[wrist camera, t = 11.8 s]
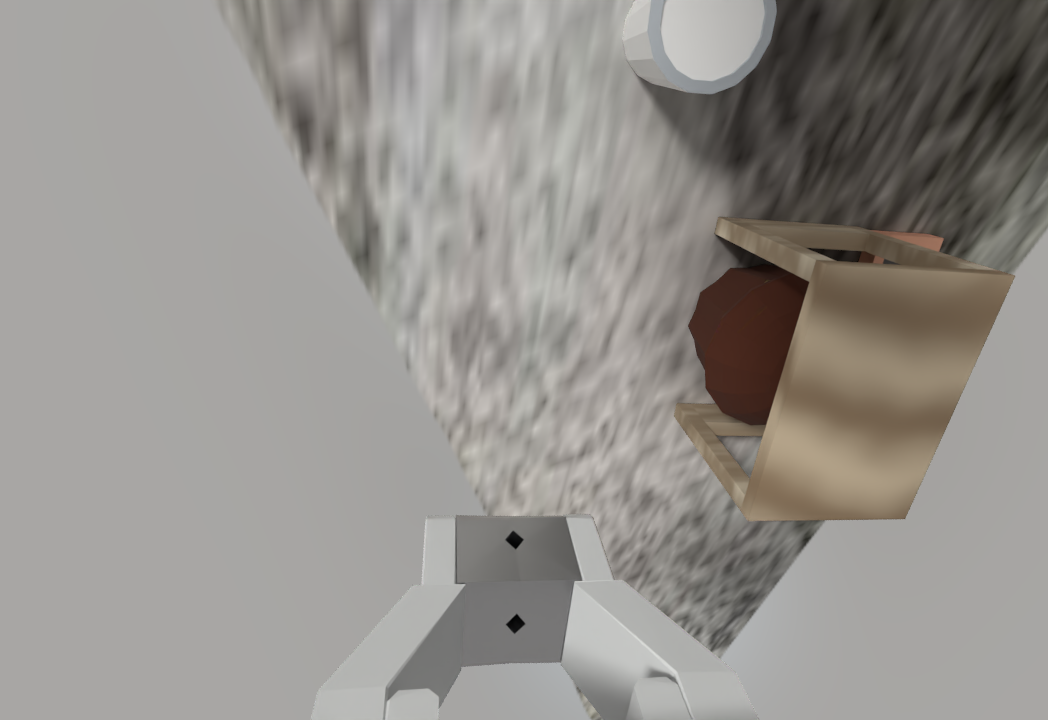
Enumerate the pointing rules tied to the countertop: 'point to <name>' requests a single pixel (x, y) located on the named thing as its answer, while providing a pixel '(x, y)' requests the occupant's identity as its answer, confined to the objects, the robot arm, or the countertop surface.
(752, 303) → the muffin
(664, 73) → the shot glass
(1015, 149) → the countertop surface
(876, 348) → the tunnel
